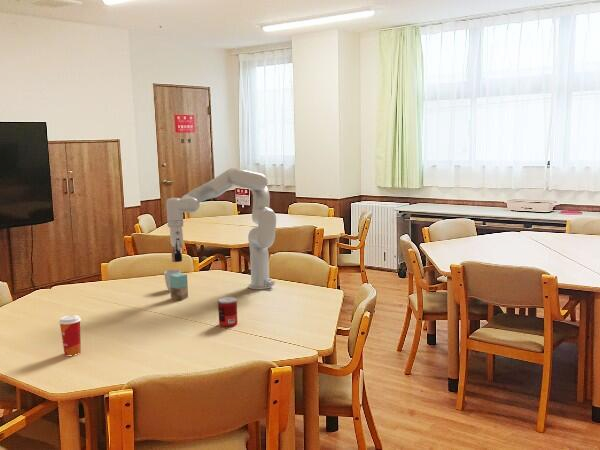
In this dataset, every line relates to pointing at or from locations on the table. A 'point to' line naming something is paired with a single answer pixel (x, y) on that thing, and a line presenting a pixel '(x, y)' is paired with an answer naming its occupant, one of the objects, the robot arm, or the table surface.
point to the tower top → (178, 280)
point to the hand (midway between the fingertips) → (177, 259)
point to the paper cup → (71, 334)
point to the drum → (174, 254)
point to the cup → (167, 277)
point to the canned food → (227, 311)
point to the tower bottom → (179, 293)
